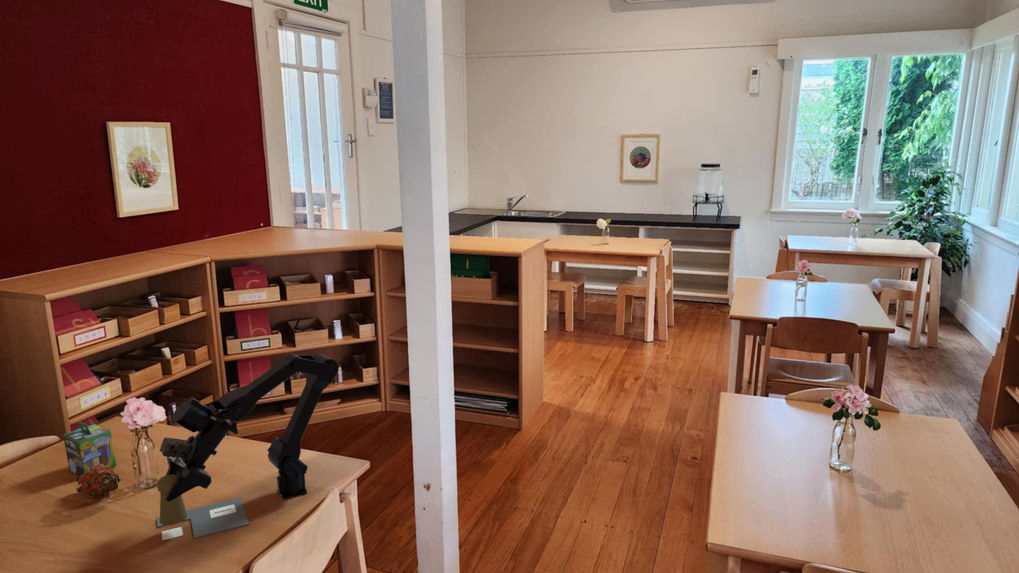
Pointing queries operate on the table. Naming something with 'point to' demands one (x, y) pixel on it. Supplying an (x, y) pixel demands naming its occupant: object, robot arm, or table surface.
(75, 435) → the chalk box
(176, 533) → the label panel
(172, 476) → the olive green pawn
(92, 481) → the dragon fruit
